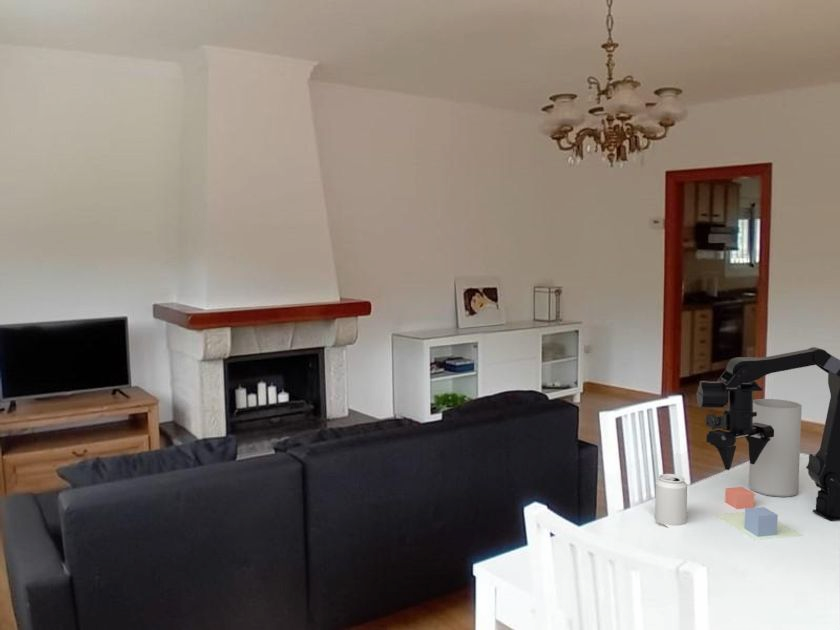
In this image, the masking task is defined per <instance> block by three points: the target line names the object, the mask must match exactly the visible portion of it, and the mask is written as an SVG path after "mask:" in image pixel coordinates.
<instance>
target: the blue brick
mask: <svg viewBox="0 0 840 630" xmlns="http://www.w3.org/2000/svg"><path fill="white" fill-rule="evenodd" d="M744 512H745V527H744V529H746V530H748V531H749V532H751V533H752V534H754V535H756V536H757V537H762V536H773V535H777V521H779V520H778V516H779V515H778V514H777V513H775V512H773V511H772V510H770V509H769V508H767V507H764V506H761V507H760V506H759V507H754V508H745V509H744Z"/></svg>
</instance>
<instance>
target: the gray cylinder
mask: <svg viewBox="0 0 840 630" xmlns="http://www.w3.org/2000/svg"><path fill="white" fill-rule="evenodd" d="M802 409H803V405H802V404H800V403H798V402H795V401H791V400H787V399H786V400H785V399H775V398H757V399H753V411H754V412H757V416H754V417H753V423H755V422H757V423H762V424H766V425H770V426H772V428H773V429H774V437H770V439H771V440H770V441H768V443H767V444H766V446H765V447H764V449H763V450H762V452H761V454H760V455H759V457H758V459H757V461H756V462H755V464H750V463H749V468H748V470H749V472H748V473H749V474H748V486H749V488H750V489H751V490H752V491H753V492H756V493H758V494H762V495H765V496H768V497H778V498H788V497H793V496H795V495H797V494H798V493H799V484H800V483H799V482H800V479H799V478H800V460H801V459H800V456H801V434H802V433H801V432H802Z"/></svg>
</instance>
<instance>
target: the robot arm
mask: <svg viewBox="0 0 840 630" xmlns="http://www.w3.org/2000/svg"><path fill="white" fill-rule="evenodd" d="M811 366H816V367H818V368H819V369H820V370H822V371H824V372H825V373H827V379H828V380H827V383H828V389H829V394H830V398H829V403H828V408H827V414H826V418H825V423H824V428H823V434H822V438H821V442H820V447H819V450H818V451H817V452H816V454H813V453H809V455H808V462H807V463H808V464H807V465H806V467H805V469H807V471H808V476H809V478H810V479H811V480H813V481H814V484H815V485H816V487H817V488H819V489H820V490H819V489H818V490H817V496H816V498H815V501H816V502H815V509H812V513H815V514H816V515H818V516H820V517H822V518H824V519H826V520H828V521H840V359H839V358H837V357H836V356H833V355H832V354H830V353H829V352H827V351H826V350H825V349H822V348H819V347H815V346H813V347H809V348H806V349H801V350H796V351H791V352H786V353H780V354H776V355H771V356H763V357H753V356H752V357H751V356H748V357H747V356H746V357H745V356H741V357H740V356H739V357H734V358H731V359H730V360H728V362H727V364H726V368H725V370H724V371H723V372H722V374H721V375H720V377H719V378H718V379H717V381H707V380H700V381H699V385H698V388H697V391H696V402H697V403H696V404H697V406H698V407H699V409H700V408H703V409H704V408H724V407H725V406H727V405H728V409H725V410H724V411H723V415H721V416H717V415H716V413H711V414H706V415H705V425H706V426H707V427H708V428H711V430H709V431H708V432H706V434H705V435H706V436H705V441H706V443H709V444H710V445H711V446H714V447H715V448H716V449H717V451H718V453H719V455H720V458H721V461H722V463H723V466H724V469H725V470H726V471H730V470H731V467H732V463H733V460H734V455H735V452H736V449H737V446H736V445H735V444H736V442H737V439H741V438H745V439H746V441H747V443H748V459H749V465H750V464H755V462H756V461H757V459H758V457H759V455H760V454H761V452H762V450H763V449H764V447H765V446H766V444H767V443H768V441H770V440H771V439H770V437H774V429H773V428H772V426H770V425H766V424H762V423H757V422H755V423H753V417H754V416H757V412H754V411H753V400H754V392H757V391H758V392H762V391H763V388H762V387H761V386H760V385H759V384H758V383H757V382H756V381H757V380H760V379H761V378H763V377H764V378H765V376H767V375H770V374H774V373H779V372H786V371H789V370H795V369H800V368H801V369H802V368H806V367H811Z"/></svg>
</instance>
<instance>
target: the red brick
mask: <svg viewBox="0 0 840 630" xmlns="http://www.w3.org/2000/svg"><path fill="white" fill-rule="evenodd" d="M724 494H725V495H724V498H725V499H724V500H725V501H724V502H725V503H726V504H727V505H729V506H730V507H733V508H734V509H736V510H742V509H743V510H745V508H755V494H756V493H755V492H754V491H751V490H749V489H747V488H746V487H744V486H738V487H737V486H736V487H726V488H725V493H724Z"/></svg>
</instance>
